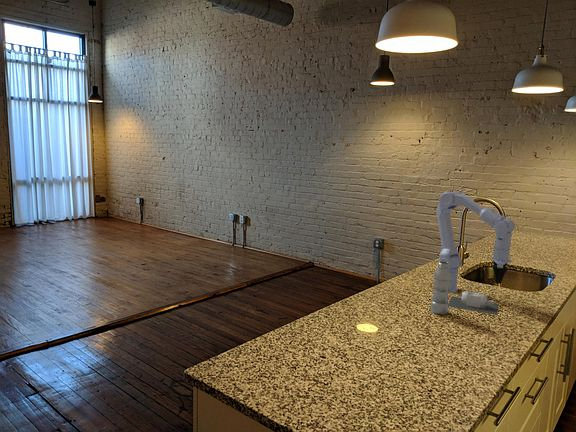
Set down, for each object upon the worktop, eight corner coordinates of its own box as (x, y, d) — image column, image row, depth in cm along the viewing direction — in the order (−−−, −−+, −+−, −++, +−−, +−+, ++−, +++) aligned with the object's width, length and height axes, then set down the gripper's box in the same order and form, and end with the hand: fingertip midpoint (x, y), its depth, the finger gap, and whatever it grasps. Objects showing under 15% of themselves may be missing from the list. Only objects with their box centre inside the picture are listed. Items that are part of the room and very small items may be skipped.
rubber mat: (447, 307, 177) (447, 306, 177) (451, 297, 189) (452, 296, 189) (497, 316, 169) (497, 315, 169) (498, 305, 181) (498, 304, 181)
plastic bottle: (433, 309, 174) (438, 259, 171) (450, 313, 170) (455, 262, 167) (427, 313, 169) (431, 262, 166) (444, 318, 165) (449, 266, 162)
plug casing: (460, 304, 179) (461, 293, 178) (461, 301, 183) (462, 290, 182) (492, 310, 174) (493, 299, 173) (493, 306, 178) (494, 295, 177)
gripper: (513, 253, 171) (509, 287, 173) (512, 246, 184) (508, 278, 186) (493, 251, 174) (489, 284, 176) (494, 244, 187) (490, 275, 189)
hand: (498, 280), depth 182 cm, fingers open, 7 cm apart
